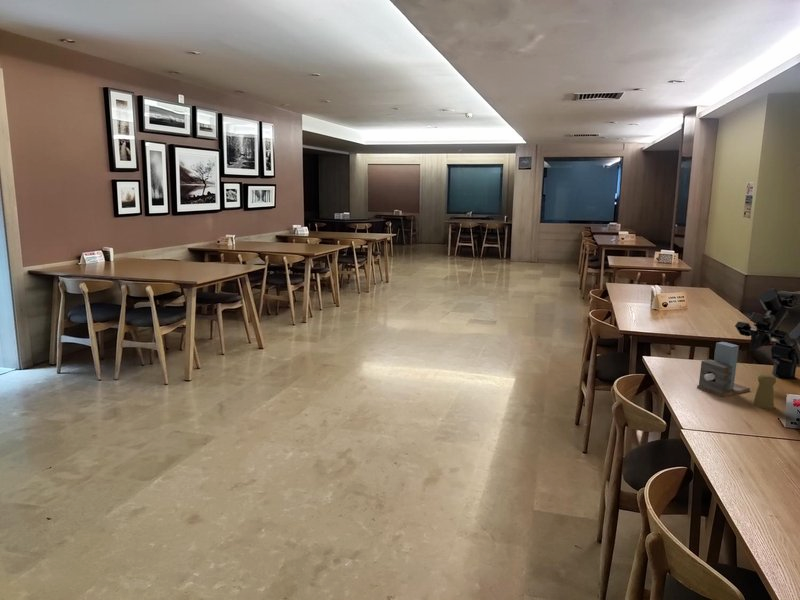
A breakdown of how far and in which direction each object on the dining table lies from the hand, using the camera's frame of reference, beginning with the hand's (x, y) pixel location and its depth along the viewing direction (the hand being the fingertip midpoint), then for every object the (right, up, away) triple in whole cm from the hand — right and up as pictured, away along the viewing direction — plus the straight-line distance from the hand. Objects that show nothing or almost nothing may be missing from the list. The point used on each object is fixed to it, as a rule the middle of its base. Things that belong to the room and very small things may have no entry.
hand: (750, 350), depth 214 cm
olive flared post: (-7, -17, -18) cm, 26 cm away
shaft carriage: (-16, -13, -5) cm, 21 cm away
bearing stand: (-12, -14, -3) cm, 19 cm away
